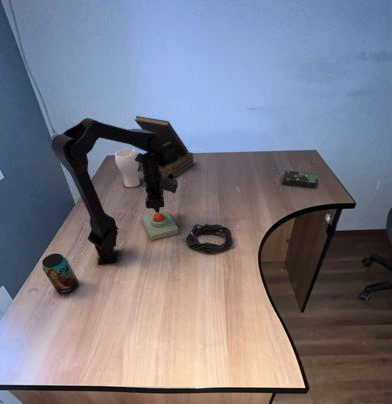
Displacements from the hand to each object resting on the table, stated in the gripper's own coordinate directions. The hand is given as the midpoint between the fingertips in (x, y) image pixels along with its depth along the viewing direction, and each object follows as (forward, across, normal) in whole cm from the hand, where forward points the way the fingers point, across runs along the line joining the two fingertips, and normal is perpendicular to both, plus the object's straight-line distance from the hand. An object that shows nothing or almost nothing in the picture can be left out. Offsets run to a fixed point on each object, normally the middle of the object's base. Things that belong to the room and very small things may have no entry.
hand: (157, 212), depth 101 cm
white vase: (+7, +40, +13) cm, 43 cm away
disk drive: (+7, +27, -68) cm, 74 cm away
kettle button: (+3, 0, 0) cm, 3 cm away
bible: (+7, +57, -5) cm, 57 cm away
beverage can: (+7, -29, +30) cm, 42 cm away
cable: (+7, -13, -18) cm, 23 cm away
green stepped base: (+7, 0, 0) cm, 7 cm away
